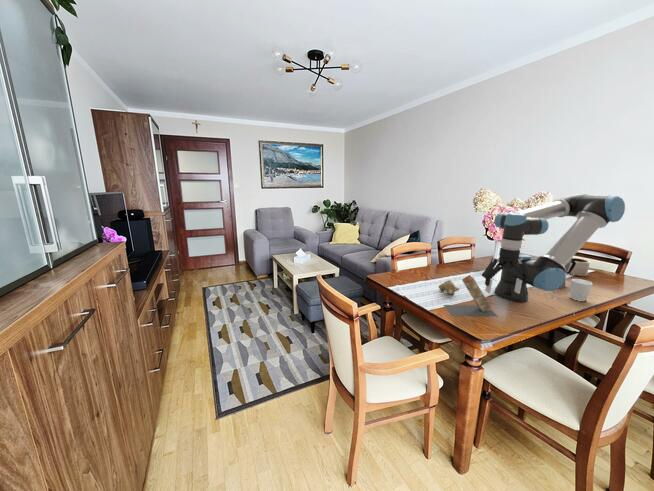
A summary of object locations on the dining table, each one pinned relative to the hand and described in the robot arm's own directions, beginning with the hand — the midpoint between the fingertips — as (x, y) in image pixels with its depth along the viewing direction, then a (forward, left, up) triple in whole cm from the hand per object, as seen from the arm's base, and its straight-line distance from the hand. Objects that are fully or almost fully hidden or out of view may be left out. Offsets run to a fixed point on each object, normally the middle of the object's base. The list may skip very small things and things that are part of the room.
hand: (502, 292), depth 128 cm
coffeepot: (-55, -35, -10) cm, 66 cm away
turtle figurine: (+16, -20, -10) cm, 28 cm away
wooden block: (+7, 0, -8) cm, 11 cm away
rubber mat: (+14, 0, -10) cm, 17 cm away
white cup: (-50, -15, -10) cm, 53 cm away
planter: (-83, -55, -10) cm, 100 cm away
